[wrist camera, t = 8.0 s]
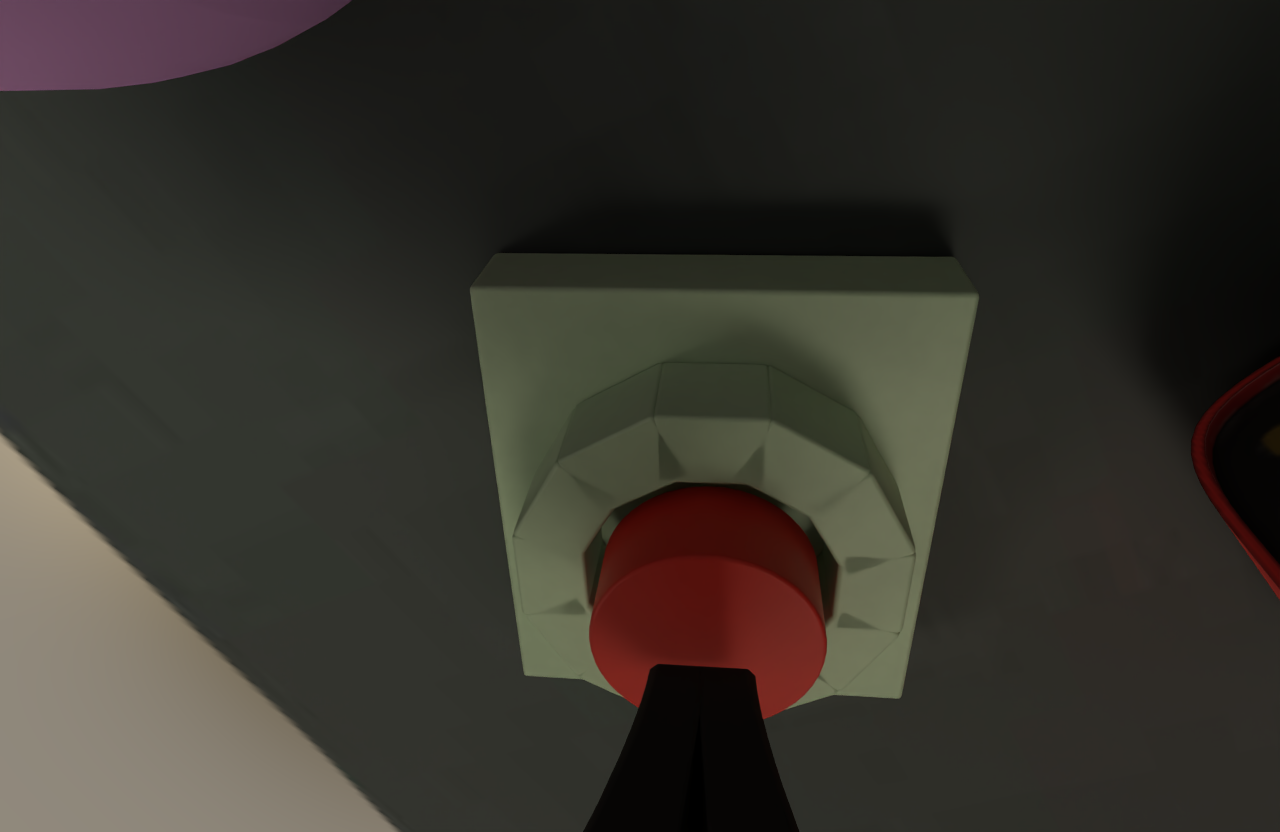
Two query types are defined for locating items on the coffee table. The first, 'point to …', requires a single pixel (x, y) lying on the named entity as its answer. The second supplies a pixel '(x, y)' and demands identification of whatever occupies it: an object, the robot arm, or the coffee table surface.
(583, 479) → the button box
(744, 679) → the robot arm
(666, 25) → the coffee table surface
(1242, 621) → the coffee table surface
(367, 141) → the coffee table surface
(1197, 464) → the alarm clock
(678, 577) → the button
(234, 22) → the teapot
